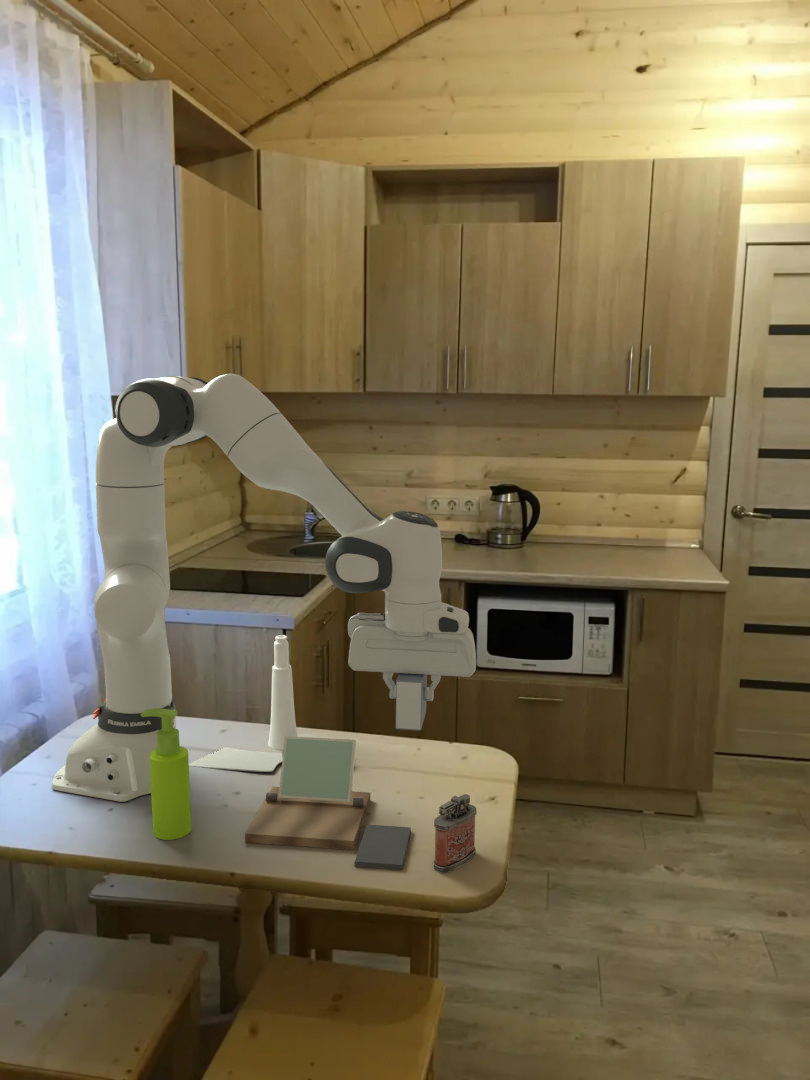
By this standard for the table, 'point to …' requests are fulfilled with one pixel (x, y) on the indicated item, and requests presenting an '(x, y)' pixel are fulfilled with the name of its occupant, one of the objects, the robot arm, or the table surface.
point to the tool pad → (383, 847)
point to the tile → (317, 769)
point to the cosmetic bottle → (281, 696)
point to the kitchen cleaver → (240, 760)
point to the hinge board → (308, 821)
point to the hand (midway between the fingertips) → (411, 698)
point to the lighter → (454, 834)
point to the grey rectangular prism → (410, 701)
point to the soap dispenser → (169, 780)
